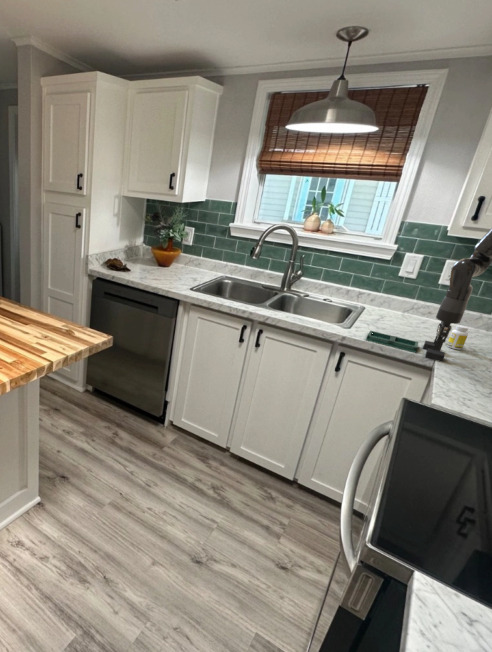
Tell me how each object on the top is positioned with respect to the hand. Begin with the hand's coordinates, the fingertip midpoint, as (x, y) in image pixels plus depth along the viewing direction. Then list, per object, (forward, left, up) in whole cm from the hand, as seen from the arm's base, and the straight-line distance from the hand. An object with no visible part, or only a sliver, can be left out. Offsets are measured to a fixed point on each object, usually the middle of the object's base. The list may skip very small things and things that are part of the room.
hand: (436, 347), depth 163 cm
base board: (+15, -6, -5) cm, 17 cm away
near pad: (0, 0, -5) cm, 5 cm away
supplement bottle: (-7, -24, -5) cm, 26 cm away
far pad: (+1, -11, -5) cm, 12 cm away
